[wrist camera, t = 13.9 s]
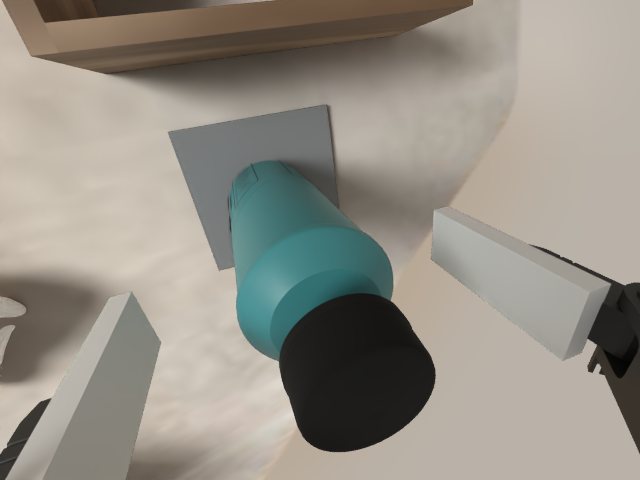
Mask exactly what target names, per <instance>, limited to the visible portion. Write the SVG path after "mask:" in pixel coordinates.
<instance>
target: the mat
mask: <svg viewBox="0 0 640 480" xmlns="http://www.w3.org/2000/svg"><path fill="white" fill-rule="evenodd" d="M168 134H169V137H170V139H171V142H172V145H173V147H174V150H175V153H176V155H177V158H178V161H179V164H180V166H181V169H182V172H183V174H184V177H185V180H186V183H187V185H188V188H189V191H190V193H191V196H192V199H193V202H194V204H195V207H196V210H197V212H198V215H199V218H200V220H201V223H202V226H203V229H204V231H205V234H206V237H207V239H208V242H209V245H210V248H211V250H212V253H213V256H214V258H215V261H216V264H217V267H218V269H219V271H220V270H224V269H228V268H231V267H235V261H234V255H233V253H232V252H233V251H231V250H233V247H232V239H231V238H232V237H230V236H232V234H231V231H230V230H228V229H230V223H229V216H230V215H229V214H230V206H229V210H228V205H227V204H228V201H227V200H228V197H229V196H230V190H231V187H232V180H233V182H234V180H235V178H236V177H237V176H238V174H237V173H239V172H240V173H241V172H242V171H243V170H244V168H247V167H248V166H250V165H251V163H252V164H254V163H257V162H260V161H267V160H273V161H279V160H280V161H279V162H284V163H285V164H288V163H289V164H288V165H289V166H290V164H291V166H292V167H293V168H294V169H295V170H296V171H299V173H300V174H301V175H302V176H303V177H304V176H307V177H304V178H306V179H307V178H308V179H307V180H309V179H310V180H309V181H310V183H311V184H312V185H314V186H315V187H316V188H317V189H319V190H320V192H321V193H322V194H323V195H324V196H326V197H327V198H328V200H329V201H330V202H331V203H332V204H333V205H334V206H335V207H336V208H337V207H338V209H339V204H338V196H337V188H336V179H335V171H334V162H333V154H332V146H331V137H330V129H329V120H328V112H327V105H321V106H315V107H309V108H303V109H297V110H292V111H286V112H280V113H274V114H269V115H263V116H257V117H251V118H246V119H240V120H234V121H228V122H222V123H217V124H211V125H205V126H199V127H194V128H188V129H182V130H176V131H171V132H168ZM286 162H288V163H286ZM248 164H249V165H248ZM245 166H246V167H245ZM242 168H243V169H242ZM296 168H297V169H298V170H297V169H296ZM241 169H242V170H241ZM300 171H301V172H300ZM236 174H237V175H236ZM230 184H231V185H230ZM315 184H316V185H315ZM319 187H320V188H319ZM228 194H229V195H228ZM328 195H329V196H328ZM333 201H334V202H333ZM335 204H336V205H335ZM229 205H230V203H229ZM230 219H231V218H230ZM228 225H229V227H228ZM230 234H231V235H230ZM229 237H230V238H229ZM229 241H230V242H229ZM229 247H230V248H229ZM232 261H233V262H232ZM233 264H234V265H233Z"/></svg>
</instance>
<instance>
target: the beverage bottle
mask: <svg viewBox="0 0 640 480" xmlns="http://www.w3.org/2000/svg"><path fill="white" fill-rule="evenodd" d="M279 161H280V160H279ZM279 161H273V160H267V161H260V162H257V163H254V164H252V163H251V165H250V166H248V167H247V168H244V170H243V171H242V172H241V173H240V172H239V173H237V174H238V176H237V177H236V178H235V180H234V182H233V180H232V187H231V190H230V196H229V197H228V200H227V201H228V204H227V205H228V210H229V206H230V214H229V215H230V216H229V223H230V229H228V230H230V231H231V234H232V236H230V237H232V238H231V239H232V247H233V250H231V251H233V252H232V253H233V255H234V261H235V272H236V283H237V300H236V310H237V319H238V322H239V325H240V328H241V330H242V332H243V334H244V336H245V337H246V339H247V340H248V341H249V343H250V344H251V345H252V346H253V347H254V348H255V349H257V350H258V351H259V352H261V353H262V354H264V355H266V356H267V357H269V358H272V359H274V360H277V361H279V368H280V373H281V378H282V382H283V385H284V389H285V391H286V393H287V395H288V396H289V399H290V403H291V406H292V409H293V413H294V416H295V419H296V423H297V426H298V428H299V430H300V432H301V434H302V436H303V437H304V438H305V440H306V441H307V442H309V443H310V444H311V445H312V446H314V447H316V448H318V449H321V450H324V451H329V452H348V451H354V450H359V449H362V448H366V447H369V446H371V445H374V444H376V443H379V442H381V441H383V440H385V439H387V438H389V437H390V436H392V435H393V434H395V433H397V432H398V431H400V430H401V429H402V428H404V427H405V426H406V425H407V424H409V423H410V422H411V421H412V420H413V419H414V418H415V417H416V416H417V415H418V414H419V412H420V411H421V410H422V409H423V407H424V406H425V404H426V402H427V401H428V399H429V397H430V395H431V393H432V391H433V388H434V384H435V376H436V375H435V367H434V364H433V361H432V358H431V356H430V354H429V353H428V351H427V350H426V348H425V347H424V346H423V344H422V343H421V341H420V340H419V338H418V337H417V335H416V334H415V333H414V331H413V330H412V327H411V325H410V323H409V321H408V320H407V318H406V317H405V316H404V314H403V313H402V312H401V311H400V310H399V309H398V307H397V306H396V305H395V304H394V303H393V302H391V301H390V300H391V297H392V292H393V273H392V267H391V264H390V261H389V259H388V257H387V255H386V253H385V252H384V250H383V249H382V247H381V246H380V245H379V244H378V243H377V242H376V241H375V240H374V239H373V238H371V237H370V236H369V235H367V234H366V233H364V232H363V231H362V230H360V229H359V228H358V227H357V226H356V225H355V224H354V223H353V222H352V221H351V220H350V219H348V218H347V217H346V216H345V215H344V214H343V213H342V212H341V211H340V210H339V209H338V207H337V208H336V207H335V206H334V205H333V204H332V203H331V202H330V201H329V200H328V198H327V197H326V196H324V195H323V194H322V193H321V192H320V190H319V189H317V188H316V187H315V186H314V185H312V184H311V183H310V181H309V180H310V179H309V180H307V179H308V178H307V179H306V178H304V177H307V176H304V177H303V176H302V175H301V174H300V173H299V171H296V170H295V169H294V168H293V167H292V166H291V164H290V166H289V165H288V164H289V163H288V162H286V163H288V164H285V163H284V162H279ZM248 165H249V164H248ZM245 167H246V166H245ZM242 169H243V168H242ZM242 169H241V170H242ZM296 169H297V168H296ZM297 170H298V169H297ZM300 172H301V171H300ZM237 174H236V175H237ZM230 185H231V184H230ZM315 185H316V184H315ZM319 188H320V187H319ZM228 195H229V194H228ZM328 196H329V195H328ZM333 202H334V201H333ZM229 203H230V205H229ZM335 205H336V204H335ZM230 218H231V219H230ZM228 227H229V225H228ZM231 234H230V235H231ZM230 237H229V238H230ZM229 242H230V241H229ZM229 248H230V247H229ZM232 262H233V261H232ZM233 265H234V264H233Z"/></svg>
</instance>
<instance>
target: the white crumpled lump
mask: <svg viewBox="0 0 640 480" xmlns="http://www.w3.org/2000/svg"><path fill="white" fill-rule="evenodd" d="M24 313H26V308H25V306H23V305H22V304H21V303H18V302H16V301H14V300H12V299H10V298H7V297H0V318H5V317H18V316H21V315H23V314H24ZM14 328H15V326H14V325H8V326H5V327H3V328H1V329H0V365H1V363H2V360H3V356H4V351H5V348H6V345H7V343H8V340H9V338H10V335H11V333H12V331H13V330H14ZM2 368H3V367H2ZM0 369H1V368H0ZM0 376H3V375H0ZM0 382H1V381H0ZM0 385H1V384H0Z"/></svg>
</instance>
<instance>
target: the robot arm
mask: <svg viewBox="0 0 640 480" xmlns="http://www.w3.org/2000/svg"><path fill="white" fill-rule="evenodd" d="M431 260H433V261H434V262H435V263H436V264H438V265H439V266H440V267H442V268H443V269H444V270H446V271H447V272H448V273H450V274H451V275H452V276H453V277H455V278H456V279H457V280H458V281H460V282H461V283H462V284H464V285H465V286H467V287H468V288H469V289H470V290H471V291H473V292H474V293H475V294H477V295H478V296H479V297H481V298H482V299H483V300H484V301H486V302H487V303H488V304H490V305H491V306H492V307H493V308H495V309H496V310H497V311H499V312H500V313H501V314H503V315H504V316H505V317H507V318H508V319H509V320H510V321H512V322H513V323H514V324H515V325H517V326H518V327H519V328H521V329H522V330H523V331H525V332H526V333H527V334H529V335H530V336H531V337H532V338H534V339H535V340H536V341H537V342H539V343H540V344H541V345H543V346H544V347H545V348H547V349H548V350H549V351H550V352H552V353H553V354H554V355H556V356H557V357H559V358H560V359H561V360H562V361H564V360H566V359H568V358H571V357H573V356H575V355H578V354H580V353H582V351H583V348H584V346H585V344H586V341H587V339H589V340H591V341H592V342H594V343H595V344H597V347H596V349H595V351H594V353H593V356H592V357H591V360H590V362H589V364H588V372H593V371H594V369H595V367H596V365H597V364H600V366H601V370H600V372H599V374H602V375H605V377H606V379H607V382H608V384H609V386H610V388H611V390H612V393H613V395H614V397H615V399H616V402H617V404H618V406H619V408H620V410H621V413H622V415H623V417H624V419H625V422H626V424H627V426H628V428H629V431H630V433H631V435H632V437H633V439H634V442H635V444H636V446H637V448H638V451H639V453H640V283H631V284H627V285H626V286H625V285H622V284H620V283H618V282H616V281H614V280H612V279H609V278H607V277H605V276H603V275H601V274H599V273H596V272H594V271H592V270H590V269H588V268H586V267H584V266H581V265H579V264H577V263H573V262H572V261H571V260H569V259H566V258H564V257H562V258H561V257H560V255H558V254H556V253H553V252H551V251H549V250H547V249H544V248H541V247H537V246H533V245H530V244H526V243H524V242H522V241H520V240H518V239H516V238H514V237H512V236H510V235H507V234H505V233H503V232H501V231H499V230H497V229H495V228H493V227H491V226H488V225H486V224H484V223H482V222H480V221H478V220H476V219H474V218H472V217H470V216H468V215H466V214H464V213H461V212H459V211H457V210H455V209H453V208H451V207H449V206H446V207H442V208H439V209H435V210H434V214H433V233H432V251H431ZM160 344H161V342H160V340H159V338H158V336H157V335H156V333H155V331H154V329H153V328H152V326H151V324H150V322H149V321H148V319H147V317H146V315H145V314H144V312H143V310H142V308H141V307H140V305H139V303H138V301H137V300H136V298H135V296H134V294H133V293H132V291H131V292H128V293H124V294H120V295H117V296H113V297H110V298H109V300H108V301H107V303H106V305H105V307H104V308H103V310H102V312H101V314H100V315H99V317H98V319H97V320H96V322H95V324H94V326H93V327H92V329H91V331H90V333H89V334H88V336H87V338H86V340H85V341H84V343H83V345H82V347H81V348H80V350H79V352H78V354H77V355H76V357H75V359H74V361H73V362H72V364H71V366H70V368H69V369H68V371H67V373H66V375H65V376H64V378H63V380H62V382H61V383H60V385H59V387H58V389H57V390H56V392H55V394H54V396H53V397H52V398H50V399H47V400H44V401H41V402H40V403H39V404H38V405H37V406H36V407H35V408H34V409H33V410H32V411H31V412H30V413H29V414H28V415H27V416H26V417H25V418H24V419H23V420H22V422H21V423H20V424H19V426H18V427H17V429H16V431H15V432H14V434H13V435H12V437H11V438H10V440H9V442H8V443H7V448H5V449H4V450H3V451H2V453H1V454H0V480H126V477H127V473H128V469H129V465H130V461H131V458H132V454H133V450H134V446H135V442H136V438H137V434H138V430H139V426H140V422H141V419H142V415H143V411H144V407H145V403H146V399H147V395H148V391H149V387H150V383H151V380H152V376H153V372H154V368H155V364H156V360H157V356H158V352H159V348H160Z"/></svg>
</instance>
